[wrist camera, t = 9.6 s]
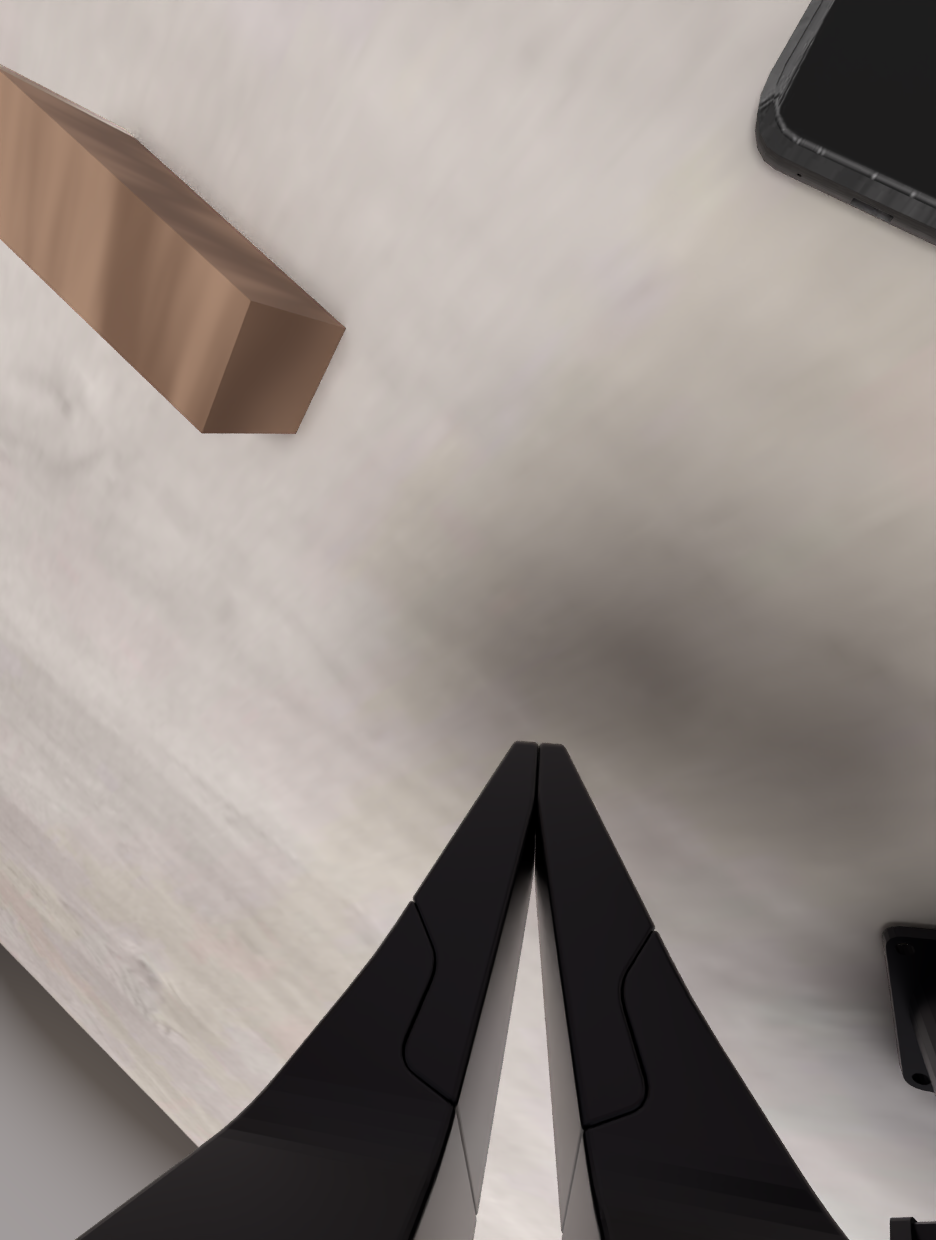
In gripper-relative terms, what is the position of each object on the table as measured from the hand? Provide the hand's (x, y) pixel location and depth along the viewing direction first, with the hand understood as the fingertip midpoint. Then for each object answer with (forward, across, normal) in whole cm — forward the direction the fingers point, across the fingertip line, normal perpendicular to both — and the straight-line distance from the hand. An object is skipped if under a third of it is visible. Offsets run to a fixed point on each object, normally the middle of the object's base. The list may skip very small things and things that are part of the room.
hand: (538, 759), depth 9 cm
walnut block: (+12, +9, -5) cm, 16 cm away
